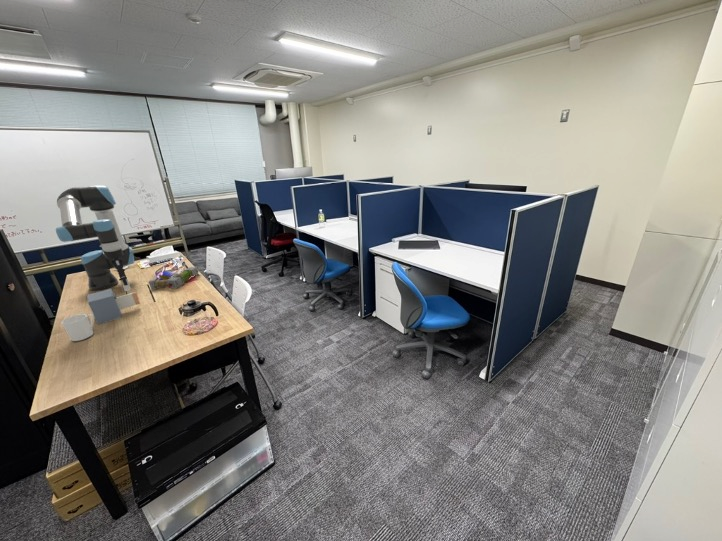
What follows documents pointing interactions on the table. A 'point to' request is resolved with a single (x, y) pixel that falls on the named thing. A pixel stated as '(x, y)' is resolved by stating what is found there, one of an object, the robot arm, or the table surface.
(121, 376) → the table surface
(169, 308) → the table surface
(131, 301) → the slim white post
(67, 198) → the robot arm
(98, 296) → the block
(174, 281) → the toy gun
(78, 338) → the mug
